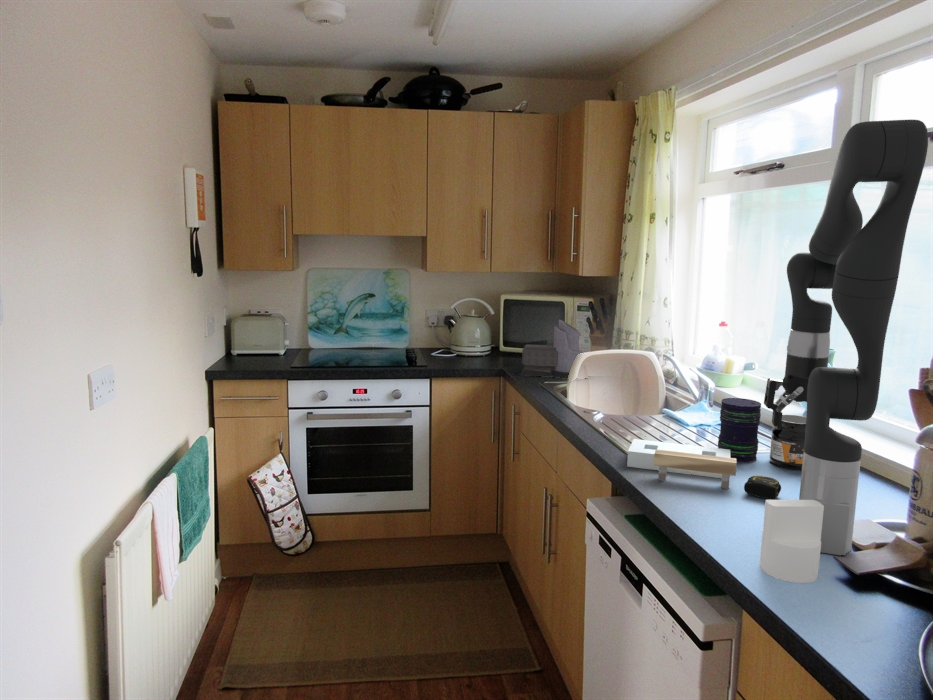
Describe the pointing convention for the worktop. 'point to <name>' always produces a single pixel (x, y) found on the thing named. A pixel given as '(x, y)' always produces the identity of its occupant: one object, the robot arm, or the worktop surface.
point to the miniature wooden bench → (695, 464)
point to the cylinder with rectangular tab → (792, 539)
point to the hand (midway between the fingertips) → (799, 429)
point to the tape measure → (763, 487)
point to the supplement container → (788, 442)
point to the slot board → (645, 450)
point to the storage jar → (740, 428)
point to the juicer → (553, 354)
